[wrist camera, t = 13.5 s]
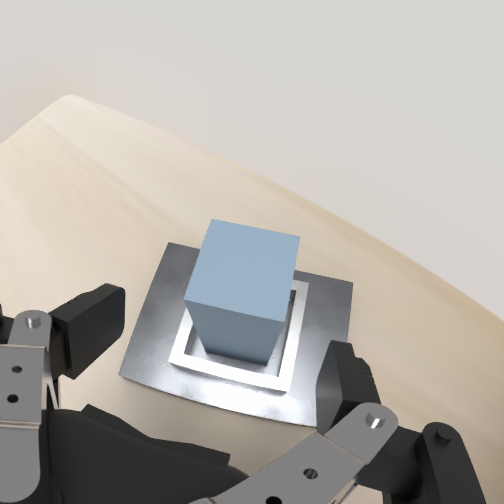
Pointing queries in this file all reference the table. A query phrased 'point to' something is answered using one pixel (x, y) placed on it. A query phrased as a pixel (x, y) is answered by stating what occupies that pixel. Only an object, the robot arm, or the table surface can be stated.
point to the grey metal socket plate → (230, 370)
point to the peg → (241, 290)
